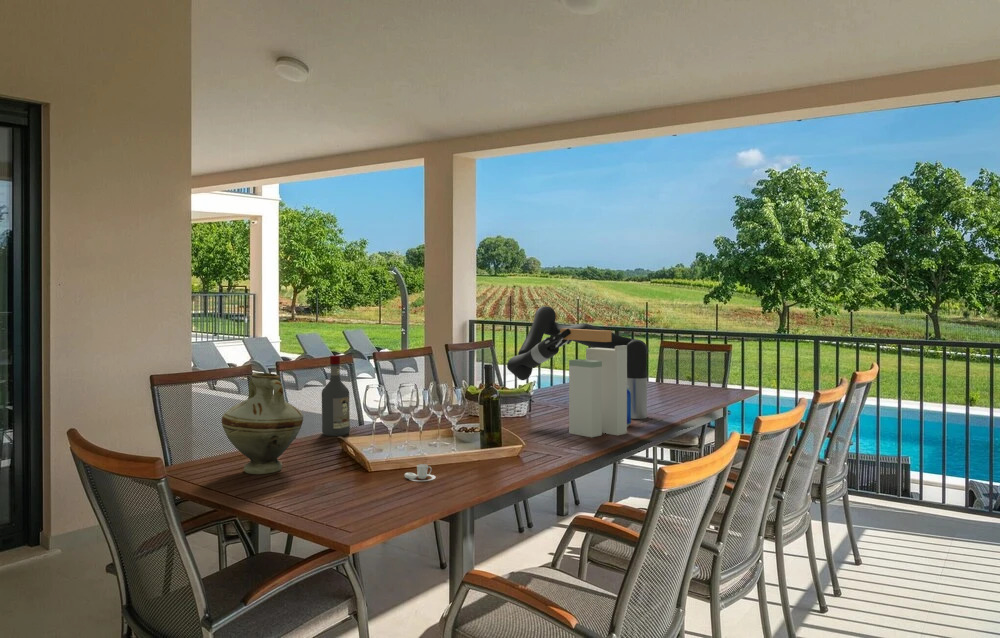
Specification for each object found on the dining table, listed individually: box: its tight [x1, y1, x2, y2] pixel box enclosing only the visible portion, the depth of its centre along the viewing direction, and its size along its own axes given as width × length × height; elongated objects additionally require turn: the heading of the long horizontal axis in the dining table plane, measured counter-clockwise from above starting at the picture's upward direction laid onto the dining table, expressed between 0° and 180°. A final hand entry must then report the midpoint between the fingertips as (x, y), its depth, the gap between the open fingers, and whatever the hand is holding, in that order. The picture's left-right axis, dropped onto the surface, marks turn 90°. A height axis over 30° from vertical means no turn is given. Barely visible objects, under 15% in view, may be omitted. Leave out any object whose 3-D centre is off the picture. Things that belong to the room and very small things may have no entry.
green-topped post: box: [568, 358, 603, 438], centre depth 274 cm, size 11×6×28 cm, turn 44°
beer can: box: [627, 386, 632, 428], centre depth 291 cm, size 8×8×16 cm
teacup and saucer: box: [403, 463, 437, 482], centre depth 212 cm, size 9×8×4 cm
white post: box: [585, 345, 628, 436], centre depth 278 cm, size 15×6×34 cm, turn 44°
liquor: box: [321, 355, 351, 437], centre depth 277 cm, size 9×9×30 cm
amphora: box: [221, 372, 304, 475], centre depth 221 cm, size 24×24×30 cm
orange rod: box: [560, 328, 612, 342], centre depth 273 cm, size 22×4×4 cm, turn 44°
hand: (573, 330), depth 277 cm, fingers closed on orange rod, 3 cm apart
